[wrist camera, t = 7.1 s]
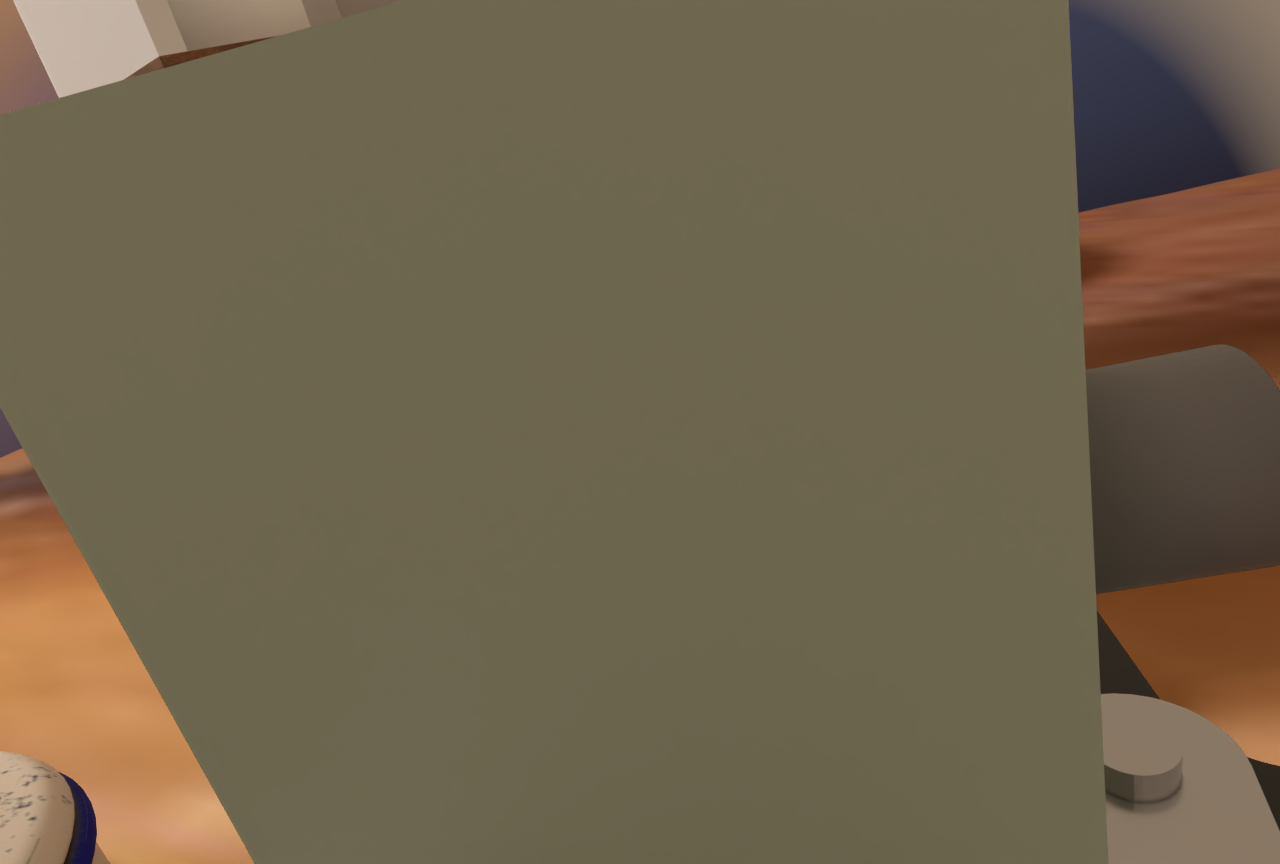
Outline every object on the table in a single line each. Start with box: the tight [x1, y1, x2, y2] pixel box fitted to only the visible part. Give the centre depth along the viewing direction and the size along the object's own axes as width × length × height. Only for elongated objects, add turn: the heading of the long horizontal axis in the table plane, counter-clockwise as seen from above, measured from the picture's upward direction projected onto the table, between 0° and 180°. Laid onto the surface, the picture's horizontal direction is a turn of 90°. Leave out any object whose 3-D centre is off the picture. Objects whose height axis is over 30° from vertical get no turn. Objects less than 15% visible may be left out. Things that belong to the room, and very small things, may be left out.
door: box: [0, 0, 1280, 864], centre depth 8 cm, size 5×6×13 cm
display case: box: [13, 0, 404, 98], centre depth 35 cm, size 11×11×35 cm
